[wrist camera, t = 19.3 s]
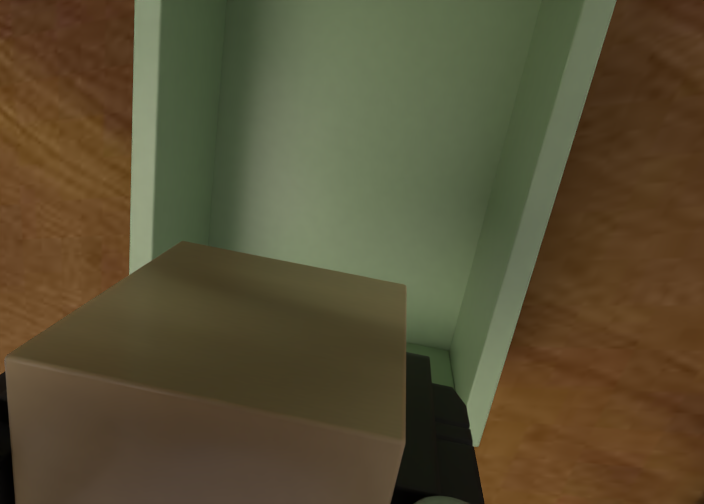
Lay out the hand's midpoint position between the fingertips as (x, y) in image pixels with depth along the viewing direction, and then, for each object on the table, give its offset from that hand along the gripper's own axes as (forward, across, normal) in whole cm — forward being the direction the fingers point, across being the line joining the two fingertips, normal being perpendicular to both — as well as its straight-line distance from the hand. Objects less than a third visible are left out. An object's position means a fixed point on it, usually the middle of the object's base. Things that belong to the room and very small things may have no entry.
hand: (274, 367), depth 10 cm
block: (0, 0, 0) cm, 0 cm away
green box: (+12, 0, -2) cm, 12 cm away
